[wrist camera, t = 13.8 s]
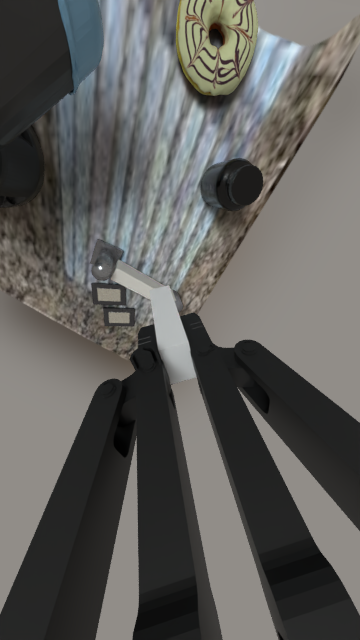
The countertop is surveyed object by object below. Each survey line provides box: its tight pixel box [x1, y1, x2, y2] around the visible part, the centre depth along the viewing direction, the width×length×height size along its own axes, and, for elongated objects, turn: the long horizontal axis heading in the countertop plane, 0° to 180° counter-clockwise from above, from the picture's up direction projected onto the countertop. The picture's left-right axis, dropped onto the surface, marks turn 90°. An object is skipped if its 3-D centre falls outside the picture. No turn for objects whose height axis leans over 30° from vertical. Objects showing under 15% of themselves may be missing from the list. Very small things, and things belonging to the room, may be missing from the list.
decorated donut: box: [176, 0, 258, 96], centre depth 26 cm, size 10×11×4 cm
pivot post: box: [90, 239, 123, 281], centre depth 37 cm, size 5×5×9 cm
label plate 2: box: [103, 307, 134, 326], centre depth 49 cm, size 7×5×1 cm
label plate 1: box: [91, 283, 126, 305], centre depth 45 cm, size 7×5×1 cm
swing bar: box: [111, 259, 183, 312], centre depth 41 cm, size 16×3×5 cm, turn 54°
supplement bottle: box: [201, 158, 263, 211], centre depth 32 cm, size 7×7×12 cm
